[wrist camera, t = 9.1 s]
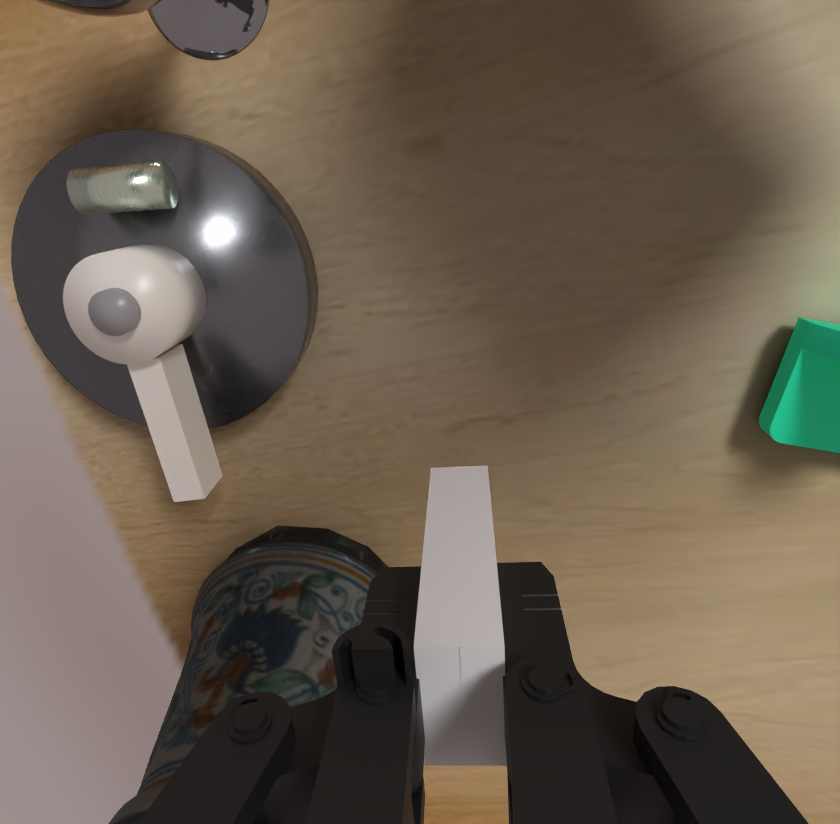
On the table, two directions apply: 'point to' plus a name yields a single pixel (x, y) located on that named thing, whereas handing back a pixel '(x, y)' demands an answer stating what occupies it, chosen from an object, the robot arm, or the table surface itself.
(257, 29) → the wine glass
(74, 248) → the base
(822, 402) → the camera mount
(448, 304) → the table surface
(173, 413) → the knob
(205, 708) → the beer stein
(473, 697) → the robot arm
